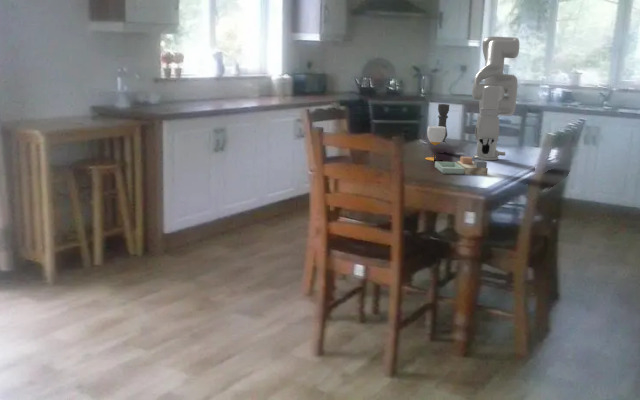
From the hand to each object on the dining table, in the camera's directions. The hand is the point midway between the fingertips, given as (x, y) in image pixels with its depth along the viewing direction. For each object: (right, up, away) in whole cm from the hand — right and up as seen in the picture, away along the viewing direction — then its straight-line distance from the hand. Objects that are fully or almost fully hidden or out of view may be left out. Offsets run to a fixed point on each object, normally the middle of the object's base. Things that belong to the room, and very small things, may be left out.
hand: (485, 153), depth 308 cm
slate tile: (-4, -6, -7) cm, 10 cm away
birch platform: (-7, -8, -2) cm, 11 cm away
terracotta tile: (-8, -4, +1) cm, 9 cm away
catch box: (-17, -8, -3) cm, 19 cm away
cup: (-19, -1, +24) cm, 31 cm away
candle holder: (-12, +4, +47) cm, 49 cm away
